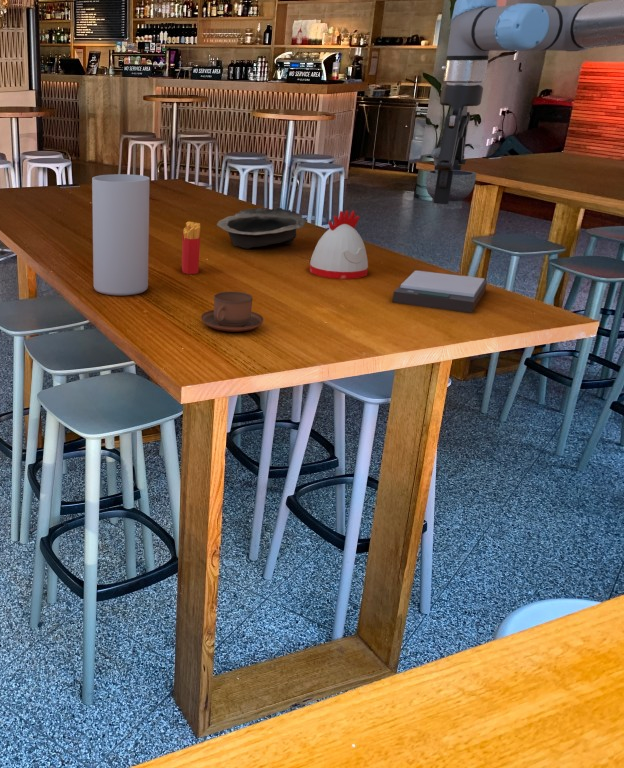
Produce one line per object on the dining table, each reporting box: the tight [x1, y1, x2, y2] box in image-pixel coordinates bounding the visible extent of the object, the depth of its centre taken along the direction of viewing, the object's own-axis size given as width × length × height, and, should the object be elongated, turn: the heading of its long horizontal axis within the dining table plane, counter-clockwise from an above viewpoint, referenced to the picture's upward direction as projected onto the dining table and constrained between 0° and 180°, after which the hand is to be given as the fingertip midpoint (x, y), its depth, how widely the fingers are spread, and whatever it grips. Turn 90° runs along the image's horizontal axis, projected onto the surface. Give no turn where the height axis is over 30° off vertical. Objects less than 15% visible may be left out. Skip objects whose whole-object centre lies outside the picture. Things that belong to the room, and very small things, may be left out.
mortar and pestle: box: [424, 147, 477, 210], centre depth 161 cm, size 11×9×12 cm
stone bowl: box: [216, 207, 308, 250], centre depth 224 cm, size 25×25×9 cm
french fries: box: [181, 220, 201, 275], centre depth 195 cm, size 8×4×12 cm, turn 2°
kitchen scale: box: [392, 270, 488, 314], centre depth 175 cm, size 20×16×3 cm
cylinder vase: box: [91, 173, 151, 297], centre depth 177 cm, size 12×12×25 cm
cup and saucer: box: [200, 291, 264, 333], centre depth 154 cm, size 12×12×6 cm
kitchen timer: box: [309, 210, 369, 280], centre depth 194 cm, size 14×14×15 cm
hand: (445, 199), depth 163 cm, fingers closed on mortar and pestle, 10 cm apart
